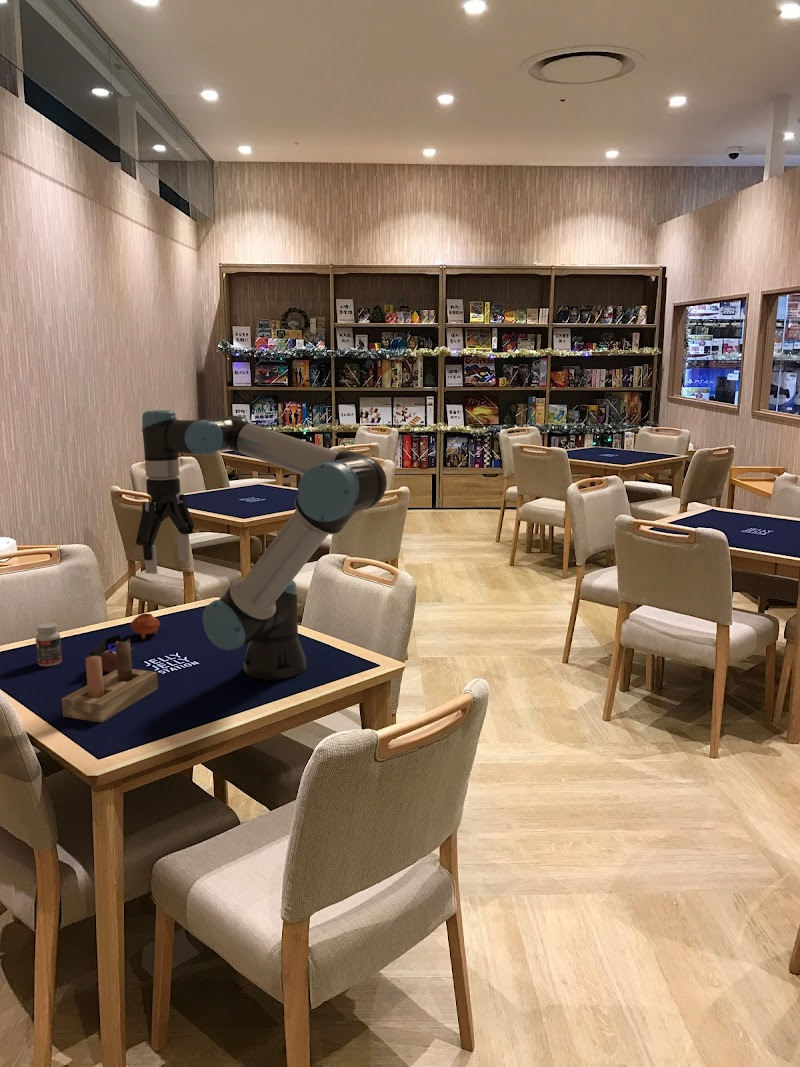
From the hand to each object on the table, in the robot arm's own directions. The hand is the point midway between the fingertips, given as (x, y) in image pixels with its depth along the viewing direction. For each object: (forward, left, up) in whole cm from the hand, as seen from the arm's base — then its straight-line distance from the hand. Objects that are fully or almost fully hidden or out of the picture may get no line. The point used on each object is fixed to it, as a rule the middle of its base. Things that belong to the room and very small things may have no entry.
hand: (168, 566), depth 203 cm
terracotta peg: (+3, +25, -27) cm, 37 cm away
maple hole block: (+3, +20, -27) cm, 33 cm away
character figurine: (+16, +2, -27) cm, 31 cm away
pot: (+24, -22, -27) cm, 42 cm away
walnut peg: (+3, +15, -27) cm, 31 cm away
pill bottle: (+34, +4, -27) cm, 44 cm away
